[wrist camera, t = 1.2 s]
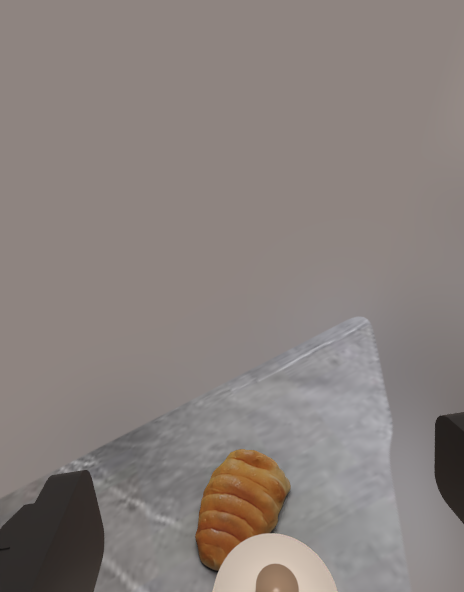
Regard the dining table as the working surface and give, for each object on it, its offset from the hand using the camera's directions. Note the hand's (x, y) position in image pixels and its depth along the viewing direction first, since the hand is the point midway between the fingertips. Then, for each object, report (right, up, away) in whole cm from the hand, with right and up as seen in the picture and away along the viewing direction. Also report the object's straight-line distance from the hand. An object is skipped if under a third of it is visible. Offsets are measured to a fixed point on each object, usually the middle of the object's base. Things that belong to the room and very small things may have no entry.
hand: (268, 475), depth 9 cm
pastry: (0, -15, +24) cm, 28 cm away
